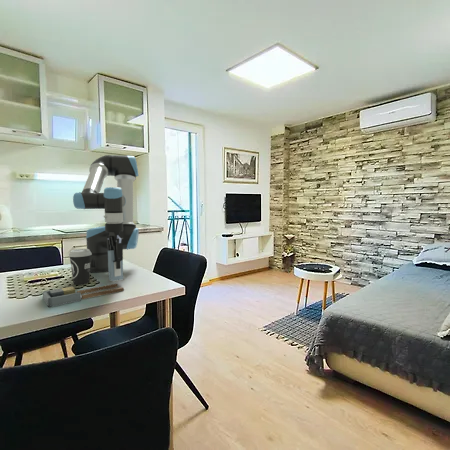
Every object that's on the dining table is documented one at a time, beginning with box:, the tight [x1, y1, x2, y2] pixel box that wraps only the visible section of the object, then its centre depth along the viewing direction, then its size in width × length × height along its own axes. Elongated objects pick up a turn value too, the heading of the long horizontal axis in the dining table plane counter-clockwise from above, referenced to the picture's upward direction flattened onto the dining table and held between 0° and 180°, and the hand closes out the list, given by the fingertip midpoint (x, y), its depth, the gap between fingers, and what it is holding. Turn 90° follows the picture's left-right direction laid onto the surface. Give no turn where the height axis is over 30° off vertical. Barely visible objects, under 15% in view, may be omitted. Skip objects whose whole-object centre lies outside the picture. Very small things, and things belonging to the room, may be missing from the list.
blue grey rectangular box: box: [107, 250, 124, 282], centre depth 131 cm, size 4×5×13 cm
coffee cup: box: [68, 248, 92, 286], centre depth 134 cm, size 10×10×15 cm
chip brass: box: [60, 286, 77, 295], centre depth 113 cm, size 4×4×4 cm
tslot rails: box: [76, 283, 125, 300], centre depth 120 cm, size 8×16×1 cm, turn 131°
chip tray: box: [42, 286, 82, 308], centre depth 111 cm, size 11×10×3 cm
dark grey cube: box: [48, 288, 64, 298], centre depth 110 cm, size 4×4×4 cm
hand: (115, 274), depth 131 cm, fingers closed on blue grey rectangular box, 4 cm apart
